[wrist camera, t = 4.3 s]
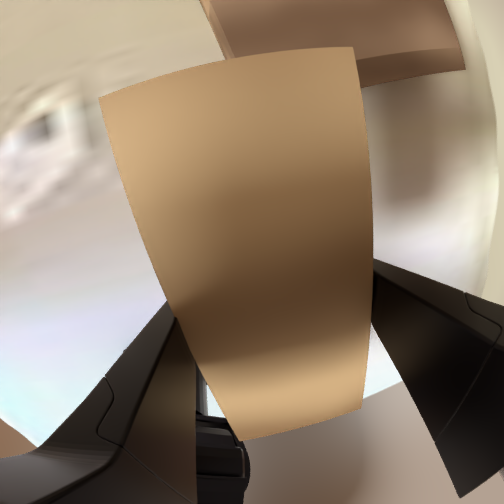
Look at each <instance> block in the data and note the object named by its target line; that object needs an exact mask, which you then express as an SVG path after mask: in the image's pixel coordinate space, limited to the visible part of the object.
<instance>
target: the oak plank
mask: <svg viewBox="0 0 504 504" xmlns="http://www.w3.org/2000/svg"><path fill="white" fill-rule="evenodd" d="M99 102H100V106H101V110H102V114H103V118H104V122H105V126H106V129H107V133H108V137H109V140H110V144H111V147H112V150H113V154H114V157H115V161H116V164H117V167H118V170H119V173H120V177H121V180H122V183H123V186H124V189H125V192H126V195H127V198H128V201H129V204H130V207H131V210H132V212H133V215H134V218H135V221H136V224H137V226H138V229H139V232H140V234H141V237H142V240H143V242H144V245H145V248H146V250H147V253H148V255H149V258H150V260H151V263H152V265H153V268H154V270H155V273H156V275H157V278H158V280H159V282H160V285H161V287H162V289H163V292H164V294H165V296H166V299H167V301H168V303H169V306H170V308H171V310H172V312H173V315H174V317H177V319H178V321H179V324H180V326H181V329H182V331H183V334H184V336H185V339H186V341H187V344H188V346H189V349H190V351H191V353H192V355H193V357H194V359H195V361H196V363H197V365H198V367H199V369H200V371H201V373H202V375H203V377H204V379H205V381H206V382H207V384H208V386H209V388H210V390H211V392H212V394H213V396H214V397H215V399H216V401H217V403H218V405H219V407H220V408H221V410H222V412H223V414H224V416H225V417H226V419H227V421H228V423H229V424H230V426H231V428H232V429H233V431H234V433H235V435H236V436H237V438H238V440H239V441H244V440H249V439H254V438H259V437H264V436H268V435H272V434H277V433H281V432H285V431H289V430H293V429H297V428H301V427H304V426H308V425H311V424H315V423H318V422H321V421H325V420H328V419H331V418H334V417H337V416H340V415H343V414H346V413H349V412H352V411H355V410H358V409H360V408H361V406H362V399H363V392H364V385H365V377H366V369H367V360H368V350H369V339H370V326H371V310H372V289H373V212H372V190H371V175H370V162H369V151H368V141H367V132H366V123H365V116H364V108H363V101H362V95H361V88H360V82H359V77H358V71H357V66H356V60H355V55H354V50H353V47H327V48H310V49H298V50H288V51H279V52H271V53H263V54H257V55H250V56H244V57H238V58H233V59H228V60H223V61H218V62H213V63H209V64H204V65H200V66H196V67H192V68H188V69H184V70H180V71H177V72H173V73H170V74H166V75H163V76H159V77H156V78H153V79H150V80H147V81H144V82H141V83H138V84H135V85H132V86H129V87H126V88H123V89H121V90H118V91H115V92H113V93H110V94H108V95H105V96H103V97H100V98H99Z"/></svg>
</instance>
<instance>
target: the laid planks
mask: <svg viewBox="0 0 504 504" xmlns="http://www.w3.org/2000/svg"><path fill="white" fill-rule="evenodd" d="M199 1H200V3H201V5H202V7H203V10H204V12H205V14H206V16H207V18H208V21H209V23H210V25H211V27H212V30H213V32H214V34H215V36H216V39H217V41H218V43H219V46H220V48H221V50H222V52H223V55H224V57H225V59H226V60H228V59H233V58H238V57H244V56H250V55H257V54H263V53H271V52H279V51H288V50H298V49H310V48H327V47H353V50H354V55H355V60H356V66H357V71H358V77H359V82H360V88H363V87H368V86H372V85H376V84H381V83H385V82H390V81H395V80H400V79H405V78H411V77H416V76H422V75H428V74H435V73H442V72H449V71H457V70H466V68H465V64H464V60H463V56H462V53H461V49H460V46H459V43H458V39H457V36H456V33H455V30H454V27H453V24H452V21H451V19H450V16H449V13H448V10H447V8H446V5H445V3H444V0H199Z"/></svg>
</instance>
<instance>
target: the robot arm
mask: <svg viewBox="0 0 504 504" xmlns="http://www.w3.org/2000/svg"><path fill="white" fill-rule="evenodd" d="M371 323H372V325H373V327H374V329H375V331H376V333H377V335H378V337H379V338H380V340H381V342H382V344H383V345H384V347H385V349H386V351H387V352H388V354H389V356H390V358H391V360H392V361H393V363H394V365H395V367H396V369H397V370H398V372H399V374H400V376H401V378H402V380H403V381H404V383H405V385H406V387H407V389H408V391H409V393H410V395H411V397H412V399H413V400H414V402H415V404H416V406H417V408H418V410H419V412H420V414H421V416H422V418H423V420H424V422H425V424H426V426H427V428H428V430H429V432H430V434H431V436H432V438H433V440H434V442H435V445H436V447H437V449H438V451H439V453H440V456H441V458H442V460H443V462H444V464H445V467H446V469H447V471H448V473H449V476H450V478H451V480H452V482H453V485H454V487H455V489H456V492H457V494H458V496H459V498H462V497H463V496H465V495H466V494H468V493H470V492H471V491H473V490H474V489H475V488H477V487H478V486H480V485H481V484H482V483H484V482H485V481H487V480H488V479H489V478H491V477H492V476H493V475H495V474H496V473H497V472H499V473H500V475H501V477H502V478H503V481H504V306H502V305H499V304H496V303H493V302H490V301H487V300H484V299H482V298H479V297H476V296H474V295H471V294H469V293H466V292H465V293H464V292H463V291H461V290H458V289H456V288H453V287H450V286H448V285H445V284H443V283H440V282H437V281H435V280H432V279H429V278H426V277H424V276H421V275H418V274H416V273H413V272H410V271H407V270H405V269H402V268H399V267H396V266H394V265H391V264H388V263H385V262H382V261H380V260H377V259H374V258H373V289H372V310H371ZM206 385H207V382H206V381H205V379H204V377H203V375H202V373H201V371H200V369H199V367H198V365H197V363H196V361H195V359H194V357H193V355H192V353H191V351H190V349H189V346H188V344H187V341H186V339H185V336H184V334H183V331H182V329H181V326H180V324H179V321H178V319H177V317H174V315H173V312H172V310H171V308H170V306H169V303H168V301H166V302H165V303H164V305H163V306H162V307H161V308H160V309H159V311H158V312H157V313H156V314H155V315H154V316H153V318H152V319H151V320H150V321H149V322H148V324H147V325H146V326H145V327H144V328H143V329H142V331H141V332H140V333H139V334H138V335H137V337H136V338H135V339H134V340H133V341H132V343H131V344H130V345H129V346H128V347H127V349H125V350H124V351H123V354H122V355H121V356H120V357H119V358H118V360H117V361H116V362H115V363H114V365H113V366H112V367H111V368H110V369H109V371H108V372H107V373H106V374H105V377H103V378H102V379H101V380H100V382H99V383H98V384H97V385H96V387H95V388H94V389H93V390H92V391H91V393H90V394H89V395H88V396H87V397H86V399H85V400H84V401H83V402H82V403H81V404H80V405H79V406H78V407H77V408H76V409H75V411H74V412H73V413H72V414H71V415H70V416H69V417H68V418H67V419H66V420H65V421H64V422H63V423H62V424H61V425H60V426H59V427H58V428H57V429H56V431H55V432H54V433H53V434H52V435H51V436H50V437H49V438H48V439H47V440H46V441H45V442H44V443H43V444H42V445H41V446H39V447H38V448H37V449H35V450H33V451H31V452H28V453H26V454H22V455H17V456H12V457H6V458H0V504H243V498H244V492H245V490H246V488H247V486H248V483H249V478H250V461H249V456H248V453H247V451H246V448H245V446H244V443H243V441H239V440H238V438H237V436H236V435H235V433H234V431H233V429H232V428H231V426H230V424H229V423H228V421H227V419H226V418H222V417H214V416H208V408H207V390H206Z"/></svg>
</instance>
